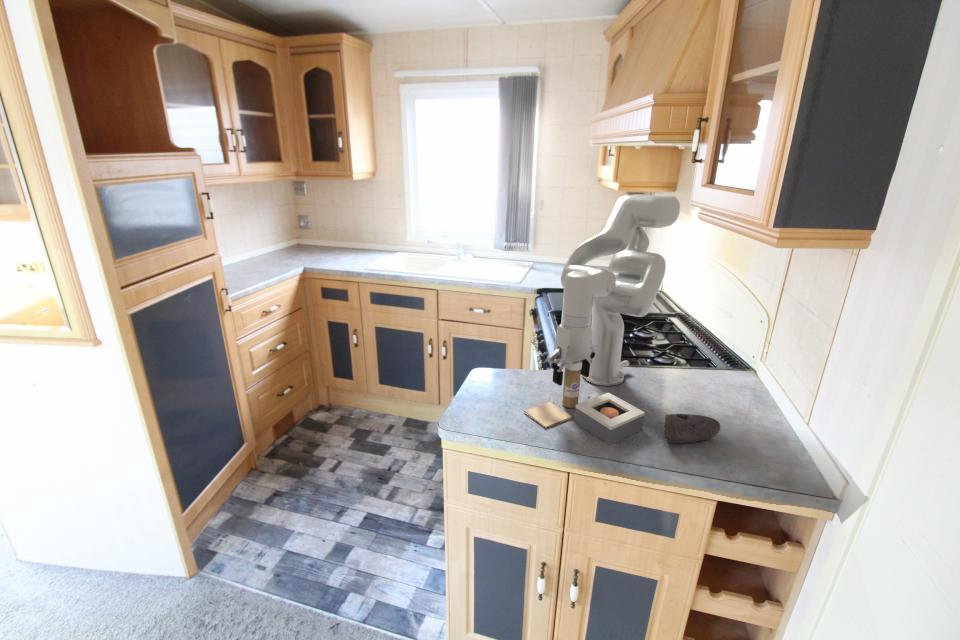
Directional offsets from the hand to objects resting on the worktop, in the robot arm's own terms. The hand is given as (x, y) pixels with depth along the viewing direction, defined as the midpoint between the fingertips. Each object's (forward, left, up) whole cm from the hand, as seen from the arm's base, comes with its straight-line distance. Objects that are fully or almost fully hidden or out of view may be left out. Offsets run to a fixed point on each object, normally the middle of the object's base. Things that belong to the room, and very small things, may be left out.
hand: (570, 379), depth 125 cm
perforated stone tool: (-14, +28, -8) cm, 32 cm away
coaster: (+8, +1, -8) cm, 12 cm away
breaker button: (-2, +13, -6) cm, 14 cm away
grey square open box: (-2, +13, -8) cm, 15 cm away
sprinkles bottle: (-1, 0, -8) cm, 8 cm away
